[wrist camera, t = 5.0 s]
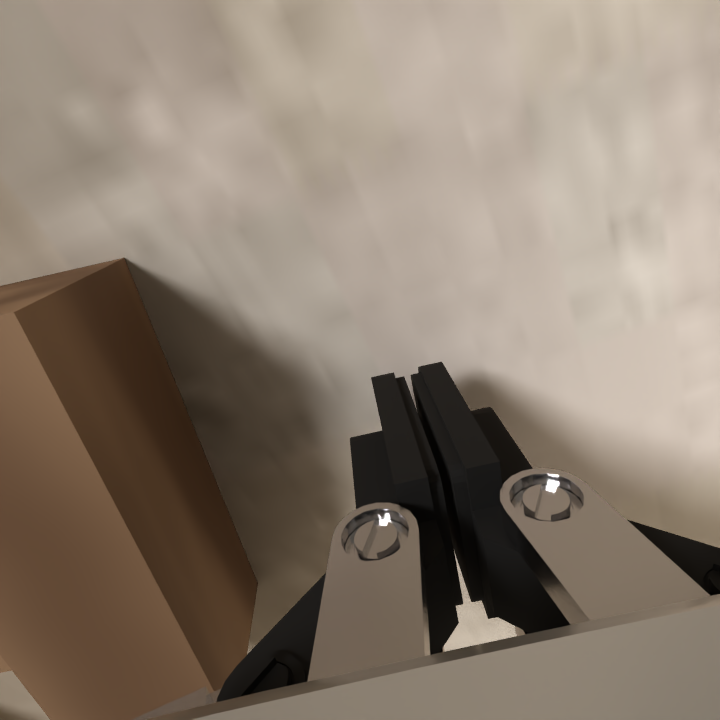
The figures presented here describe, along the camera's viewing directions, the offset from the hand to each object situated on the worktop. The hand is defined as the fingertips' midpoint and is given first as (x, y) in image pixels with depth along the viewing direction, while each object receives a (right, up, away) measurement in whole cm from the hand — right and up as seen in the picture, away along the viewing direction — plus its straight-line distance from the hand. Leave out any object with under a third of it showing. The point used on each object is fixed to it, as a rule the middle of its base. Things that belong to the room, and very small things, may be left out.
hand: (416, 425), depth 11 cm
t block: (-10, -2, +1) cm, 10 cm away
